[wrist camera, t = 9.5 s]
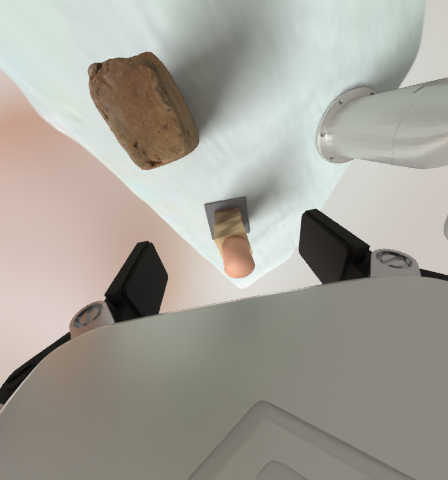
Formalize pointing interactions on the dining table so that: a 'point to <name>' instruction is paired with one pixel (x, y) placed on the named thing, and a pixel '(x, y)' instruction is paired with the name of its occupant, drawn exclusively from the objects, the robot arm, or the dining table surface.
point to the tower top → (229, 231)
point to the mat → (226, 205)
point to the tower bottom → (227, 214)
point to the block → (143, 109)
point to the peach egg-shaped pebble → (237, 257)
